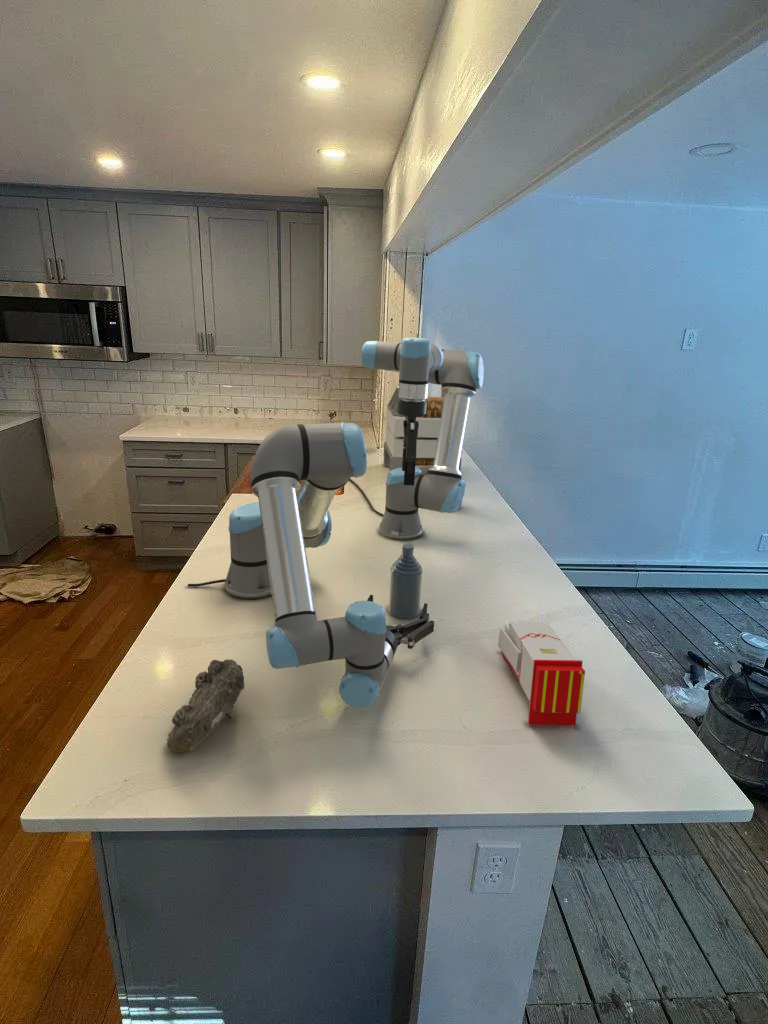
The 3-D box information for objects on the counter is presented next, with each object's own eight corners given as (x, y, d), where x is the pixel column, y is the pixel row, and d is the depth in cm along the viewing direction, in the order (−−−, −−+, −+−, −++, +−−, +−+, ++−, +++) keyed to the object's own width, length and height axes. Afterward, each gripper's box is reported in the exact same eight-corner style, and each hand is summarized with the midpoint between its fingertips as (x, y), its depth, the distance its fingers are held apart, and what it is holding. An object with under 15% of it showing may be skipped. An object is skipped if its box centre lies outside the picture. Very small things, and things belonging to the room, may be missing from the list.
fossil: (192, 660, 117) (244, 628, 112) (224, 691, 120) (276, 661, 115) (142, 746, 98) (202, 712, 93) (182, 779, 101) (242, 748, 96)
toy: (544, 607, 134) (594, 667, 105) (539, 659, 137) (586, 732, 108) (493, 606, 134) (529, 666, 105) (489, 658, 137) (523, 731, 107)
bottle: (389, 602, 153) (392, 538, 147) (419, 603, 153) (424, 540, 147) (388, 617, 146) (391, 551, 139) (419, 619, 145) (424, 553, 139)
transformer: (382, 463, 289) (386, 382, 275) (445, 464, 293) (451, 384, 279) (390, 482, 257) (394, 392, 243) (460, 483, 261) (468, 394, 247)
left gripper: (320, 655, 124) (349, 609, 143) (433, 676, 118) (447, 625, 138) (320, 626, 121) (350, 582, 140) (436, 645, 116) (450, 598, 135)
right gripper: (396, 392, 160) (393, 465, 167) (399, 406, 136) (395, 490, 143) (423, 393, 160) (418, 466, 167) (430, 408, 136) (424, 492, 144)
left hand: (398, 603), depth 139 cm, fingers open, 13 cm apart
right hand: (407, 477), depth 155 cm, fingers open, 13 cm apart
